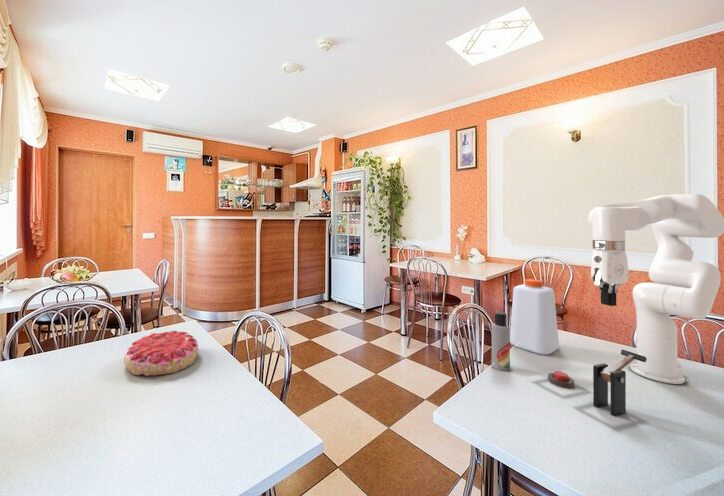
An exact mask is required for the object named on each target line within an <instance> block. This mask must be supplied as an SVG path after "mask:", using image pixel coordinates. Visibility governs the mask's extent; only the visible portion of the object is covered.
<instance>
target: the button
mask: <svg viewBox="0 0 724 496" xmlns="http://www.w3.org/2000/svg"><path fill="white" fill-rule="evenodd" d="M553 373H554V378H555V379H558V380H561V381H568V377H569V374H568V373H566V372H564V371H560V370H554V371H553Z"/></svg>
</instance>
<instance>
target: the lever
mask: <svg viewBox="0 0 724 496" xmlns="http://www.w3.org/2000/svg"><path fill="white" fill-rule="evenodd" d="M620 355H621V356H625V357H624V358H623V359H622V360H620V361H619V362H618V363H617V364H615V365H614V366H613V367H612V368H610V367H609V366H608V367H606V368H605V369H603V370H602V371H601V376H602V379H603V380H605V381H608V383H610V384H611V374H610V372H614V371H619V370H623V369H624V368H626V367H627V366H628V365H629V364H632V362H633V361H634V360H636V361H637V360H639V361H642V362H646V360H647V359H646V357H645V356H641V355H638V354H637V353H636V352H632V351H629V350H626V349H621V350H620Z"/></svg>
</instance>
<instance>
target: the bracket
mask: <svg viewBox="0 0 724 496" xmlns="http://www.w3.org/2000/svg"><path fill="white" fill-rule="evenodd" d="M592 366H593V367H592V368H593V372H592V381H593V383H592V385H593V389H592V390H593V391H592V393H593V394H592V398H593V399H592V400H593V401H592V403H593V407H595V408H597V409H599V408H602V407H603V408H604V407H605V406H609V382H608V381H605V380H603V379H602V376H601V371H602V370H603V369H605V368H606V367H608V368H609V365H608V364H607V363H598V364H593V365H592ZM626 373H627V372H626V371H625V370H623V369H622V370H619V371H614V372H610V374H611V383H610V415H611V416H613V417H616V418H617V417H619V416H623V415H626V414H627V412H626V411H627V409H626V408H627V403H626V402H627V401H626V400H627V397H626V396H627V394H626V393H627V392H626V388H627V387H626V386H627V384H626V382H627V381H626V380H627V379H626V377H627V374H626Z"/></svg>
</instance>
